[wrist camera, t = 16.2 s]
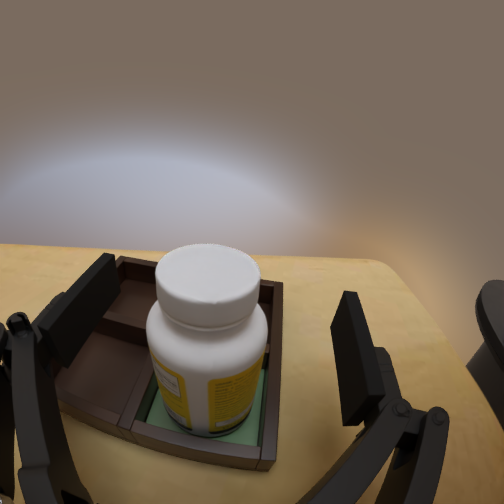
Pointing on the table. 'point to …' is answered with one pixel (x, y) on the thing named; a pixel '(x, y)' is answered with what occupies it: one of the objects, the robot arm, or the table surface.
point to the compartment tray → (146, 386)
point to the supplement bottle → (207, 337)
